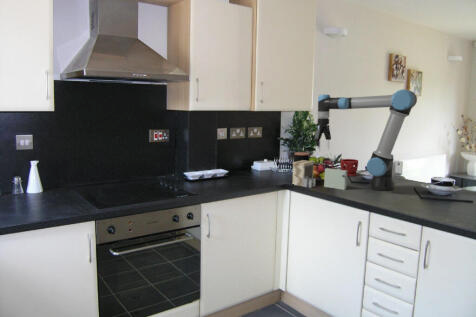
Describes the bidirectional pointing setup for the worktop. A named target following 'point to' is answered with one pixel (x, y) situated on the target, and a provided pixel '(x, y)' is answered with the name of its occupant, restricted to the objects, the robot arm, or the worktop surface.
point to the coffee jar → (301, 156)
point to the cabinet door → (335, 178)
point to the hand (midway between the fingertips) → (322, 150)
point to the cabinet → (302, 171)
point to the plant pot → (349, 166)
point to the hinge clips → (308, 182)
